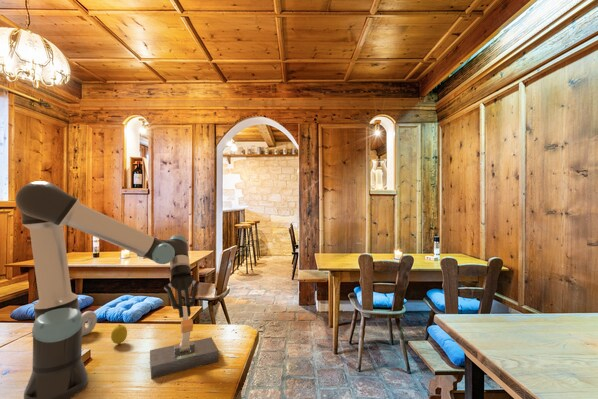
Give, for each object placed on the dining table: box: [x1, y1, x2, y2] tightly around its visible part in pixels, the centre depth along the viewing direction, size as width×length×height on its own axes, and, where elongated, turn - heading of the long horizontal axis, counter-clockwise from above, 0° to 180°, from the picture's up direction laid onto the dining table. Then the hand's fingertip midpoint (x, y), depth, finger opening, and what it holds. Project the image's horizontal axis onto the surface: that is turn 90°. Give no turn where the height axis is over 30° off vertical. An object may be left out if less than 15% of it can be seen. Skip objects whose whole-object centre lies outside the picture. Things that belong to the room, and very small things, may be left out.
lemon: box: [110, 324, 128, 345], centre depth 119 cm, size 6×6×8 cm
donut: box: [81, 310, 98, 337], centre depth 127 cm, size 10×4×10 cm, turn 175°
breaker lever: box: [180, 318, 194, 351], centre depth 104 cm, size 4×3×14 cm
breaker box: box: [149, 336, 220, 379], centre depth 106 cm, size 22×12×6 cm, turn 119°
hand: (186, 325), depth 104 cm, fingers closed
